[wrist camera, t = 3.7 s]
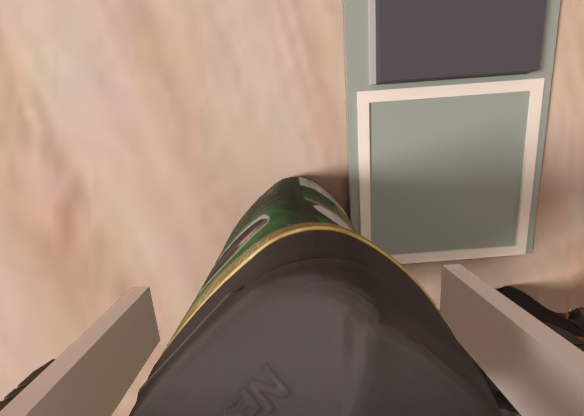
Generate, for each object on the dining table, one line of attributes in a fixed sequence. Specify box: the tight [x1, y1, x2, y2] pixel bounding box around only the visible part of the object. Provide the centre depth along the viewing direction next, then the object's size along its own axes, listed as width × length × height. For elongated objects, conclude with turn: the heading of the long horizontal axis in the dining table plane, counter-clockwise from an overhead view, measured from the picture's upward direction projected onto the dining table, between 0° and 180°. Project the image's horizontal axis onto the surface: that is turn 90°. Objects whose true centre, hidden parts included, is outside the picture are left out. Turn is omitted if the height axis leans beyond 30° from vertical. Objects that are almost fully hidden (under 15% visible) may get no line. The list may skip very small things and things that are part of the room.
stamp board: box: [343, 0, 561, 264], centre depth 22 cm, size 15×22×1 cm
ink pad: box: [368, 0, 547, 85], centre depth 19 cm, size 12×8×1 cm
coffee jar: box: [129, 177, 501, 416], centre depth 15 cm, size 10×8×19 cm
